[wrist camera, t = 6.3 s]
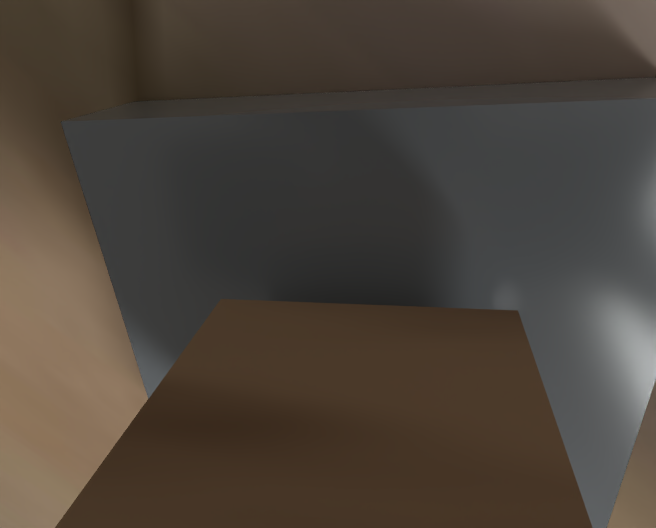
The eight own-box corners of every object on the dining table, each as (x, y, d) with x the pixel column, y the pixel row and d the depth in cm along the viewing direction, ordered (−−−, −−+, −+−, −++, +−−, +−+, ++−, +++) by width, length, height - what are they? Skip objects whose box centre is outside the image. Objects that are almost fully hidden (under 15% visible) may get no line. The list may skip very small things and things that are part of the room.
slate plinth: (566, 476, 14) (594, 563, 11) (216, 442, 16) (183, 510, 13) (666, 76, 9) (749, 94, 6) (133, 101, 11) (60, 121, 8)
